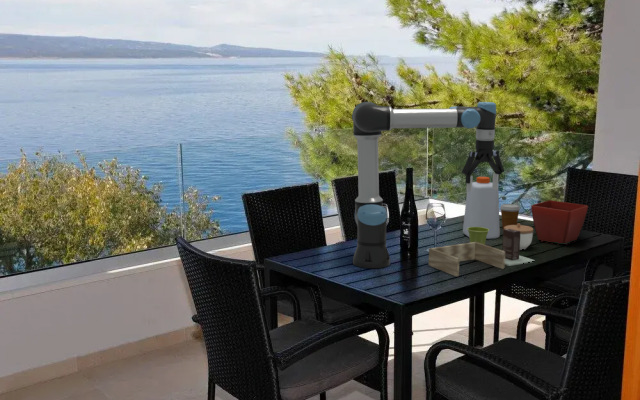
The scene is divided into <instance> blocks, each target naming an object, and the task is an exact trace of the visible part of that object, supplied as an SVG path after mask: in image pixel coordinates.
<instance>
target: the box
mask: <svg viewBox="0 0 640 400" xmlns="http://www.w3.org/2000/svg"><path fill="white" fill-rule="evenodd" d="M502 231H503V232H502V248H501V249H502V251H505V258H506V259H510V260H517V259H519V255H520V251H521V250H520V232H521V231H517V230H513V229H504V230H503V229H502Z"/></svg>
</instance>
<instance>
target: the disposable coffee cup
mask: <svg viewBox="0 0 640 400" xmlns="http://www.w3.org/2000/svg"><path fill="white" fill-rule="evenodd" d="M499 210H500V213H501V214H500V215H501V226H502V231H503V230H504V227H505V226H508V225H517V224H518V218H519V214H520V210H521V208H520V205H518V204H512V203H503V204H501V205H500V206H499Z"/></svg>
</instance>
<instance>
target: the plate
mask: <svg viewBox="0 0 640 400" xmlns="http://www.w3.org/2000/svg"><path fill="white" fill-rule="evenodd" d="M532 261H535V259H532V258H529V257H525V256H523V255H520V254H519V259H517V260H510V259H506V258H505V266H508V267H512V266H517V265H518V266H519V265H522V264H523V263H524V264H529V263H528V262H530V263H533V262H532ZM535 262H536V261H535Z"/></svg>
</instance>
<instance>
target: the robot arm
mask: <svg viewBox="0 0 640 400" xmlns="http://www.w3.org/2000/svg"><path fill="white" fill-rule="evenodd" d="M351 118H352V122H353V123H352V125H353V127H352V128H353V129H352V130H353V137H354V138H356V141H357V142H356V143H357V178H358V181H357V183H358V184H357V187H358V196H356V198H355V199H354V203H355V204H354V207H355V209H354V221H355V223H356V226H357V245H356V247H355V251H354V255H353V257H352V265H354V266H355V267H359V268H365V269H380V268H387V267H389V266H390V265H391V257H390V254H389V250H388V247H387V219H388V214H387V210H386V208H385V207H384V206H383V205H384V203H383V201H384V199H383V198H382V197H381V195H380V184H379V183H380V180H379V178H380V177H379V176H380V175H379V170H380V169H379V138H380V137H382V132H389V131H391V130H392V129H430V128H431V129H432V128H435V129H436V128H437V129H438V128H439V129H440V128H442V129H443V128H446V129H447V128H456V129H457V128H459V129H460V128H461V129H462V128H463V129H465V128H466V129H474V128H475V130H476V131H475V132H476V133H475V138H476V140H475V151H472V150H471V151H469V154H468V157H467V160H466V161H465V165H464V167H463V169H462V171H461V174H463V175H465V183H466V192H467V191H470V192H471V191H472V182H473V177H474V176H473V175H472V174H473V173H474V171H475V170H476V169H477V168H478V166H479V165H480V164H481V163H485V162H486V163H488V165H489V166H490V168H491V169H492V170H493V173H492V182H491V183H492V189H496V190H499V182H500V176H501V175H502V173H504V172H505V170H504V166H503V163H502V160H501V157H500V151H499V150H495V149H494V148H495V141H494V139H495V137H496V136H495V135H496V134H495V133H496V118H497V105H496V103H495V102H493V101H479V102H477V106H457V105H456V106H450V107H449V108H392V106H390V105H388V106H386V105H385V106H384V105H377V104H376V103H373V102H371V101H362V102H360V103H359V104H357V105H356V106H355V107H354V109H353V111H352V115H351Z"/></svg>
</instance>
